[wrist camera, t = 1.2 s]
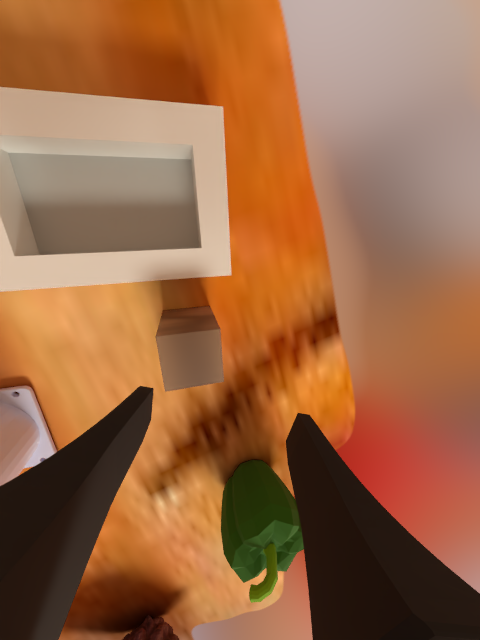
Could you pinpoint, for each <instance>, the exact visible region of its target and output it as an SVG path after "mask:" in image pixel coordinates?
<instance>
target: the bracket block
mask: <svg viewBox="0 0 480 640" xmlns="http://www.w3.org/2000/svg"><path fill="white" fill-rule="evenodd" d="M156 341H157V347H158V353H159V359H160V365H161V370H162V376H163V382H164V388H165V392H166V391H172V390H178V389H184V388H189V387H195V386H201V385H207V384H213V383H219V382H224V375H223V361H222V347H221V333H220V327H219V325H218V323H217V321H216V319H215V316H214V314H213V312H212V310H211V308H210V306H204V307H194V308H184V309H174V310H163V312H162V316H161V320H160V323H159V327H158V330H157V334H156Z"/></svg>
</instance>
